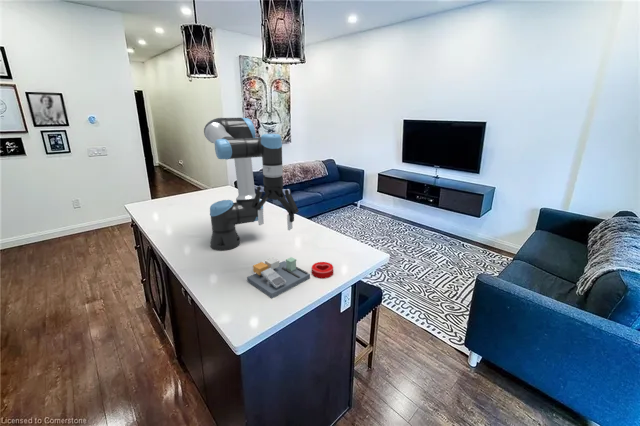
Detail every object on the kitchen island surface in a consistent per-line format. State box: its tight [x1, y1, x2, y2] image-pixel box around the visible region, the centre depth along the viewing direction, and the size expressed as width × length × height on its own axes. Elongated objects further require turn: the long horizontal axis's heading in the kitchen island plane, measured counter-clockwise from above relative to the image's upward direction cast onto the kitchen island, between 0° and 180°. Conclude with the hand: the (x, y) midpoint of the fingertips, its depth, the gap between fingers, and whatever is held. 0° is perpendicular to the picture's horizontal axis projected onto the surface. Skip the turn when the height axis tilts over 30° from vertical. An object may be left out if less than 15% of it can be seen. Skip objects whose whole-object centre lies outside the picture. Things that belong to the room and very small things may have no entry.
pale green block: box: [285, 256, 297, 271], centre depth 127 cm, size 3×3×5 cm
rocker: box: [261, 268, 286, 288], centre depth 117 cm, size 10×5×1 cm, turn 46°
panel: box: [246, 260, 311, 299], centre depth 123 cm, size 17×20×4 cm
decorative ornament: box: [311, 261, 334, 279], centre depth 129 cm, size 10×10×3 cm
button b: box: [264, 257, 280, 269], centre depth 126 cm, size 4×4×3 cm
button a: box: [252, 261, 268, 275], centre depth 122 cm, size 4×4×3 cm
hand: (275, 226), depth 120 cm, fingers open, 13 cm apart
